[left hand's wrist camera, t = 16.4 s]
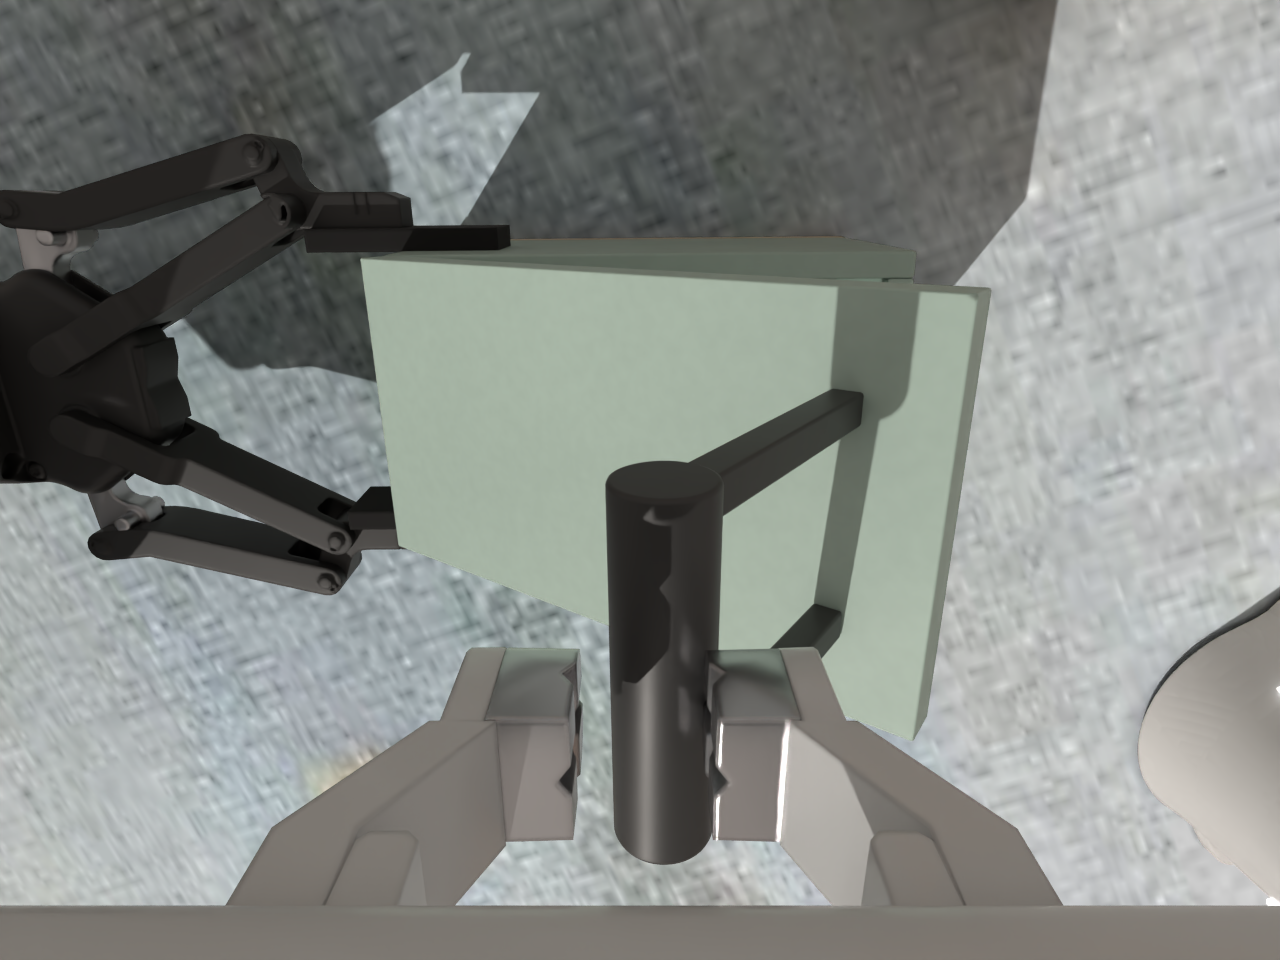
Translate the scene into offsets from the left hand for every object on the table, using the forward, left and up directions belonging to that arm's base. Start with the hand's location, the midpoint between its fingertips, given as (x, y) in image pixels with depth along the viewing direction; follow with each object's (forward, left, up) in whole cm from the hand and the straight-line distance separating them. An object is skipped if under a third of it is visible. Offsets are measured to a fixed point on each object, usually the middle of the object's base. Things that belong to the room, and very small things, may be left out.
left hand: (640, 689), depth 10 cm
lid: (+1, 0, -11) cm, 11 cm away
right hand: (+5, 0, -19) cm, 20 cm away
